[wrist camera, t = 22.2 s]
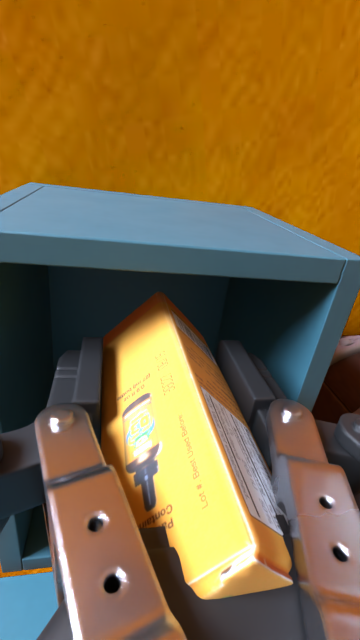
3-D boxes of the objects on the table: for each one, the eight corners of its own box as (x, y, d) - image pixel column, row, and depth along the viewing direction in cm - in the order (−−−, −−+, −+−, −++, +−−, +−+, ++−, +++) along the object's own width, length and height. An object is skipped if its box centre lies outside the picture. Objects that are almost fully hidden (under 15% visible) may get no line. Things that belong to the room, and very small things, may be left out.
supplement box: (154, 380, 15) (202, 685, 7) (100, 334, 14) (74, 655, 5) (210, 337, 15) (343, 611, 6) (161, 284, 13) (247, 551, 5)
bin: (29, 182, 18) (-70, 224, 8) (252, 207, 20) (371, 260, 11) (45, 409, 25) (1, 573, 15) (210, 405, 27) (260, 543, 18)
